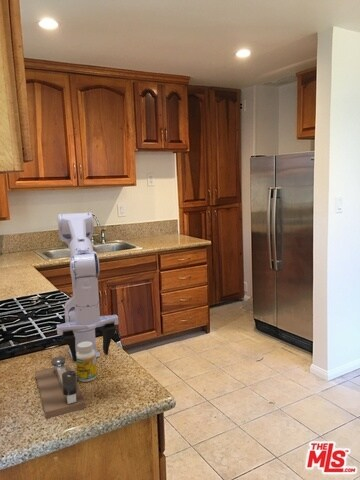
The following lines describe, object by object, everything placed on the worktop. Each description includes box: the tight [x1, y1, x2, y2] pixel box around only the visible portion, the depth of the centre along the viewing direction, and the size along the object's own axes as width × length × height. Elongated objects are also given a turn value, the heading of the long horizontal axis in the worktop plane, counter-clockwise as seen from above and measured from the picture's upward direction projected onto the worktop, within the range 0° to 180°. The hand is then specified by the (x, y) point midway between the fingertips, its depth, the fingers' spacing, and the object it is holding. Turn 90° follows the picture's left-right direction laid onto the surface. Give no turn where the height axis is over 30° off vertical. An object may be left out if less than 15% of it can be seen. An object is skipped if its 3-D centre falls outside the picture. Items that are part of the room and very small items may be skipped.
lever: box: [51, 356, 78, 404], centre depth 100 cm, size 20×4×6 cm, turn 26°
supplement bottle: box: [75, 341, 98, 383], centre depth 106 cm, size 5×5×10 cm
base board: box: [34, 363, 87, 419], centre depth 100 cm, size 22×9×2 cm, turn 26°
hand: (90, 356), depth 96 cm, fingers open, 7 cm apart
